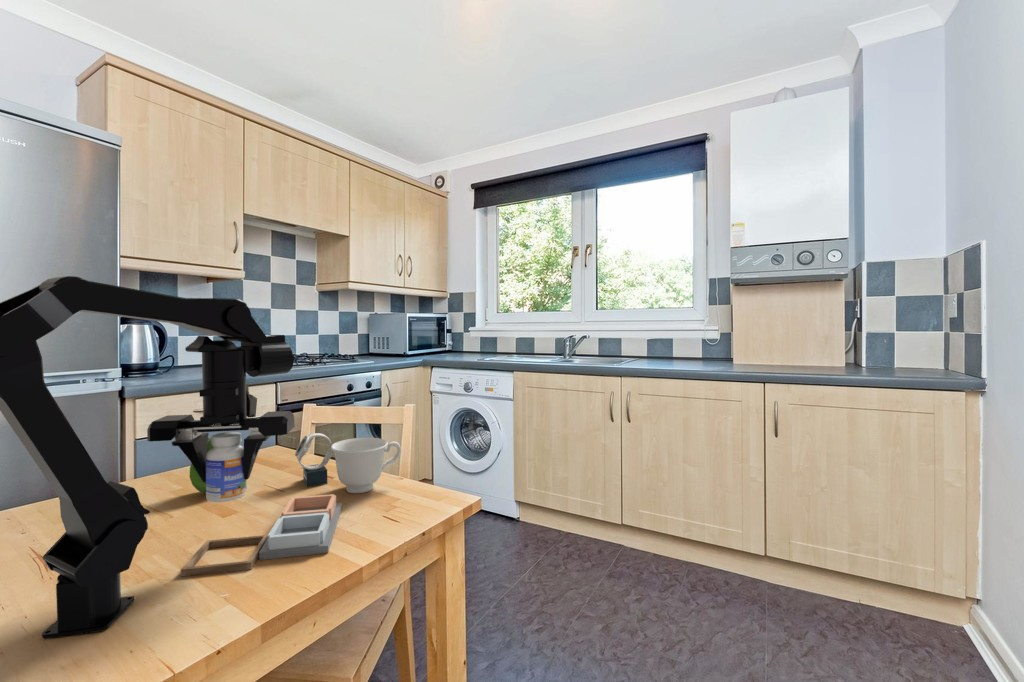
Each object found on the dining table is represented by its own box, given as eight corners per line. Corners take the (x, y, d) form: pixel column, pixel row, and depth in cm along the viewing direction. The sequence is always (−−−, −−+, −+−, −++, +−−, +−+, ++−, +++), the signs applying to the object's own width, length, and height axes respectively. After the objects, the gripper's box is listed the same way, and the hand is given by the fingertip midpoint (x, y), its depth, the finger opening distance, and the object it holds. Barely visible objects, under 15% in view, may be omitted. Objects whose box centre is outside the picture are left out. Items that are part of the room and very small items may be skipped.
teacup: (405, 492, 101) (404, 447, 100) (331, 502, 95) (330, 454, 95) (397, 475, 112) (397, 434, 111) (330, 483, 106) (330, 440, 106)
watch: (294, 481, 108) (293, 434, 107) (330, 475, 112) (330, 429, 111) (297, 488, 103) (296, 439, 102) (335, 482, 107) (335, 434, 107)
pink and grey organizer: (328, 552, 74) (327, 533, 74) (259, 559, 72) (259, 539, 72) (341, 508, 92) (341, 492, 92) (286, 513, 89) (286, 497, 89)
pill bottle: (227, 504, 69) (227, 440, 69) (197, 501, 70) (196, 437, 70) (254, 492, 75) (254, 431, 74) (226, 489, 76) (225, 429, 75)
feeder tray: (251, 568, 69) (251, 562, 69) (181, 576, 67) (180, 569, 67) (268, 540, 78) (268, 534, 78) (206, 546, 76) (206, 540, 76)
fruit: (196, 489, 102) (194, 435, 102) (237, 485, 105) (236, 432, 104) (185, 502, 95) (183, 444, 94) (229, 497, 98) (228, 440, 97)
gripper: (300, 373, 82) (302, 461, 82) (179, 375, 77) (182, 468, 78) (285, 381, 71) (287, 482, 71) (143, 384, 66) (146, 492, 67)
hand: (226, 480), depth 72 cm, fingers closed on pill bottle, 5 cm apart
